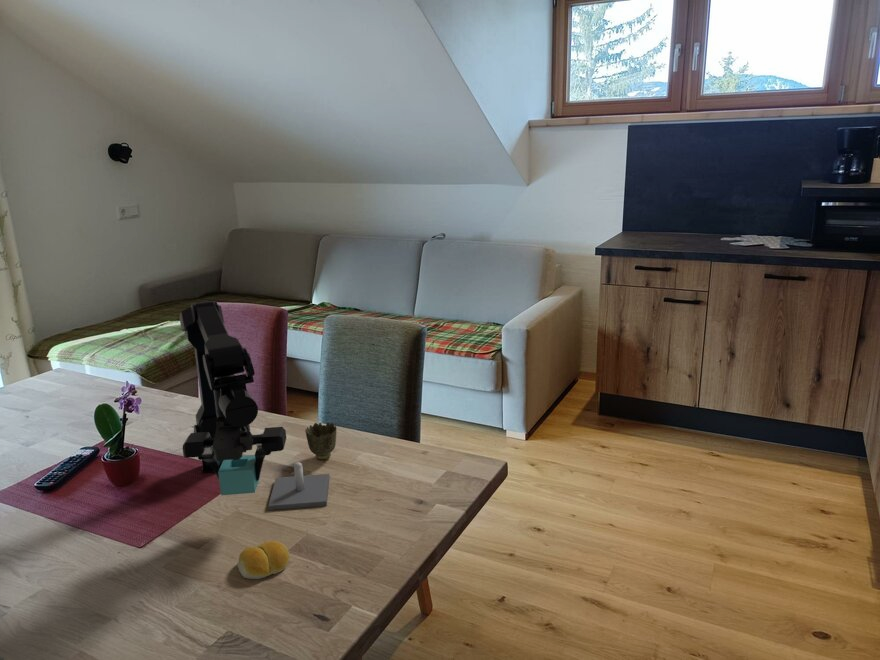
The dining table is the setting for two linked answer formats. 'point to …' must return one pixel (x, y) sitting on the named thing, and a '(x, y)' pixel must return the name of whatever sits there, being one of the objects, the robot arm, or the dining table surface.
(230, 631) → the dining table surface
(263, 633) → the dining table surface
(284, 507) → the post stand
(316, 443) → the cup
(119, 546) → the dining table surface
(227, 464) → the teal block with hole
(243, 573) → the bread roll
